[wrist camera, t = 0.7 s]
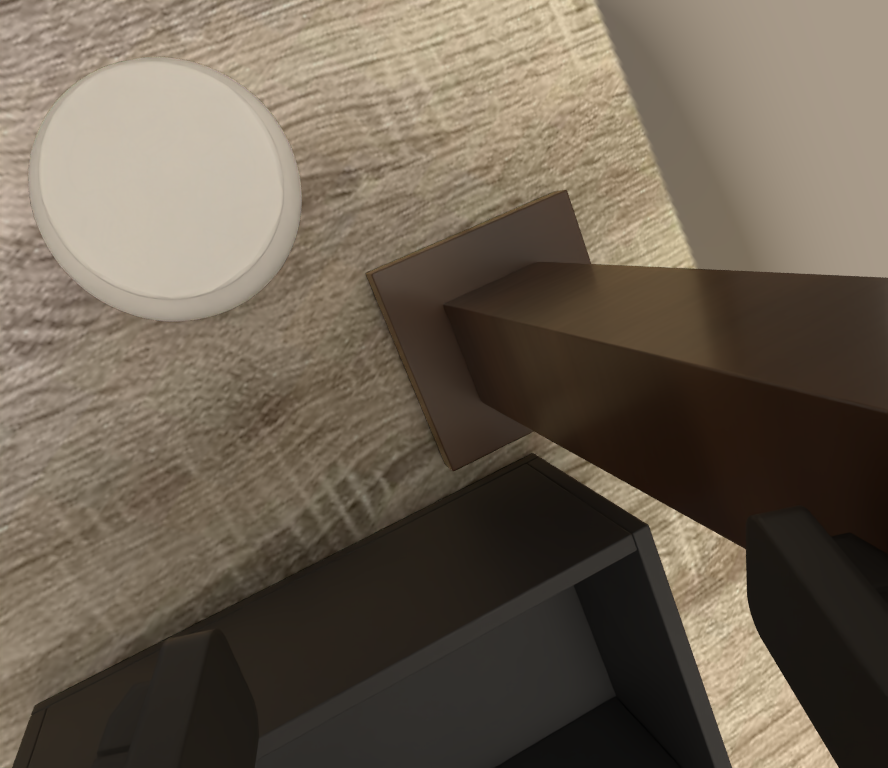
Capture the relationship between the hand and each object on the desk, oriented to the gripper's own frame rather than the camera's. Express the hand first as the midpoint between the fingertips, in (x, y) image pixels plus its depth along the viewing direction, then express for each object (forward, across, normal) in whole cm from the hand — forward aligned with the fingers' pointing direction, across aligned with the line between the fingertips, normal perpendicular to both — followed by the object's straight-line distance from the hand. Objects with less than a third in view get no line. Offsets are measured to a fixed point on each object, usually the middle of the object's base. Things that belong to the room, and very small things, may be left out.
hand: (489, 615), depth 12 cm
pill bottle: (+18, +8, -3) cm, 20 cm away
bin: (+13, +6, +16) cm, 22 cm away
